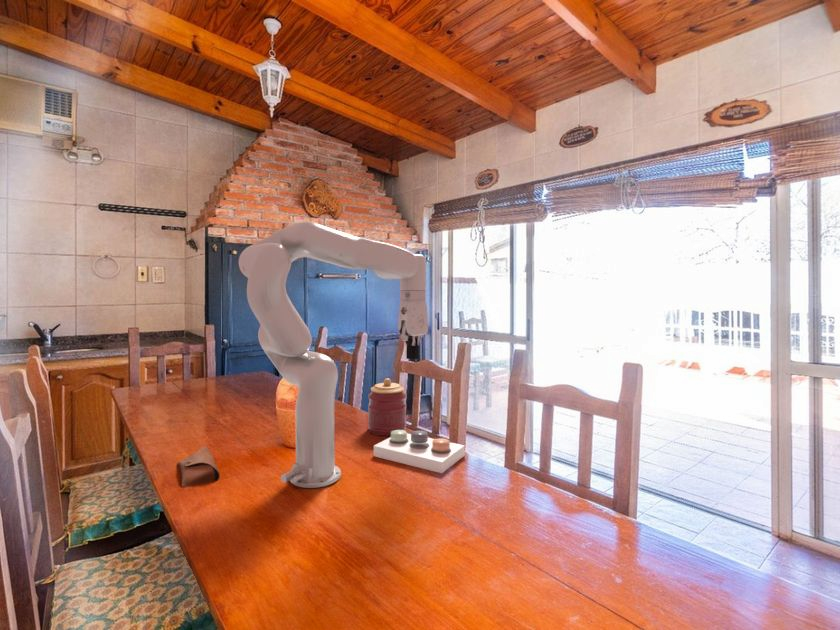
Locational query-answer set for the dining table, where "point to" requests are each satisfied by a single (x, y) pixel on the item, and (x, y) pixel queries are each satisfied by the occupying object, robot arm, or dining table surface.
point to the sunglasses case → (198, 468)
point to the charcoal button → (419, 436)
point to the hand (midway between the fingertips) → (412, 358)
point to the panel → (419, 454)
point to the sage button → (398, 436)
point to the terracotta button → (440, 444)
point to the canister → (386, 408)
